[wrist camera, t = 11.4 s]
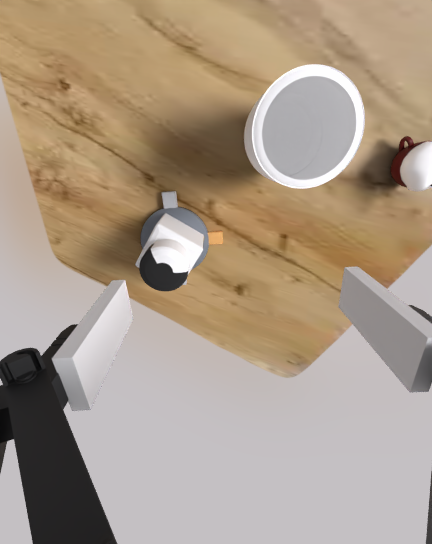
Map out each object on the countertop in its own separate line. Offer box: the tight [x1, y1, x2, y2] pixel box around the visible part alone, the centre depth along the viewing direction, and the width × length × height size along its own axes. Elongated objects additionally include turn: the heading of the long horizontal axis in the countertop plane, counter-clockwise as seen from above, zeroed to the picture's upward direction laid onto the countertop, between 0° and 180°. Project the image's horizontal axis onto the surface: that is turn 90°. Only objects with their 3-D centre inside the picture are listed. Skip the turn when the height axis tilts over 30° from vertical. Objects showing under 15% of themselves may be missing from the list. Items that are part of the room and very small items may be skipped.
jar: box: [244, 64, 365, 188], centre depth 32 cm, size 11×10×15 cm
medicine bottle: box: [136, 213, 204, 291], centre depth 38 cm, size 7×7×12 cm
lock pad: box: [141, 191, 223, 285], centre depth 44 cm, size 16×13×1 cm
